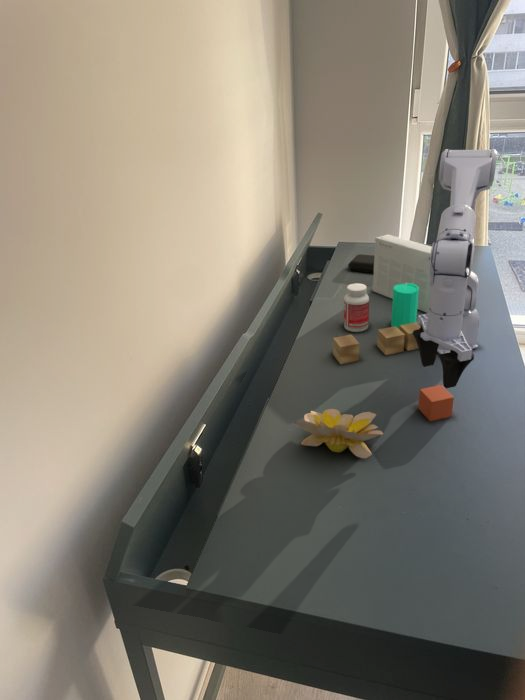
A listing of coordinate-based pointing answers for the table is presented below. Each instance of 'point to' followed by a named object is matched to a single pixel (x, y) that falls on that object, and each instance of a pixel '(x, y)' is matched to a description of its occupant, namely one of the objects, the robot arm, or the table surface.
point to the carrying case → (362, 263)
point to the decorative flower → (340, 431)
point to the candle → (404, 304)
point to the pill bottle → (356, 308)
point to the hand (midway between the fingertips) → (438, 375)
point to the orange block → (435, 402)
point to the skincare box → (402, 267)
